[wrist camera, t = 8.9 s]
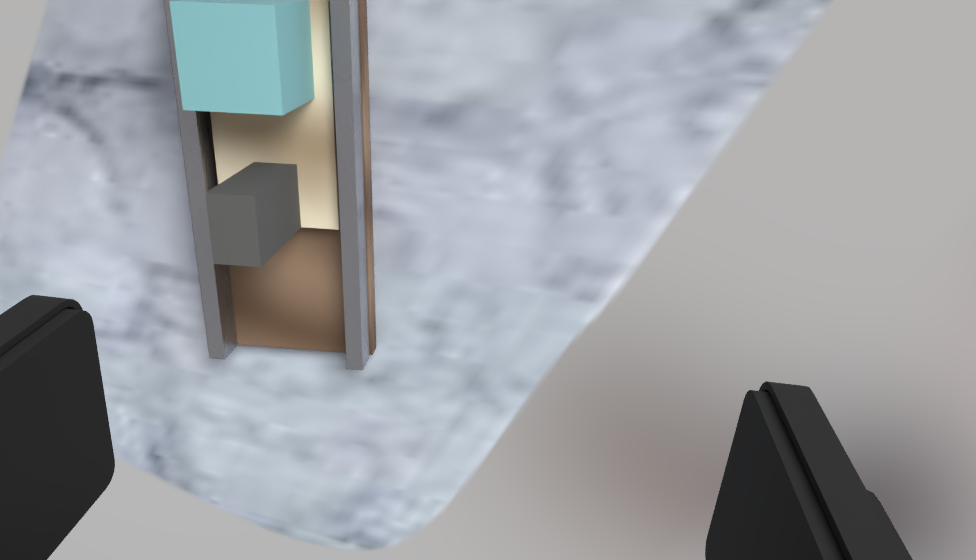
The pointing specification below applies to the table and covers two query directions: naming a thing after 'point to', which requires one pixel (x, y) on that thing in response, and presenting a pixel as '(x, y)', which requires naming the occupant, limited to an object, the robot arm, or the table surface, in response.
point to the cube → (243, 55)
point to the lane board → (310, 251)
